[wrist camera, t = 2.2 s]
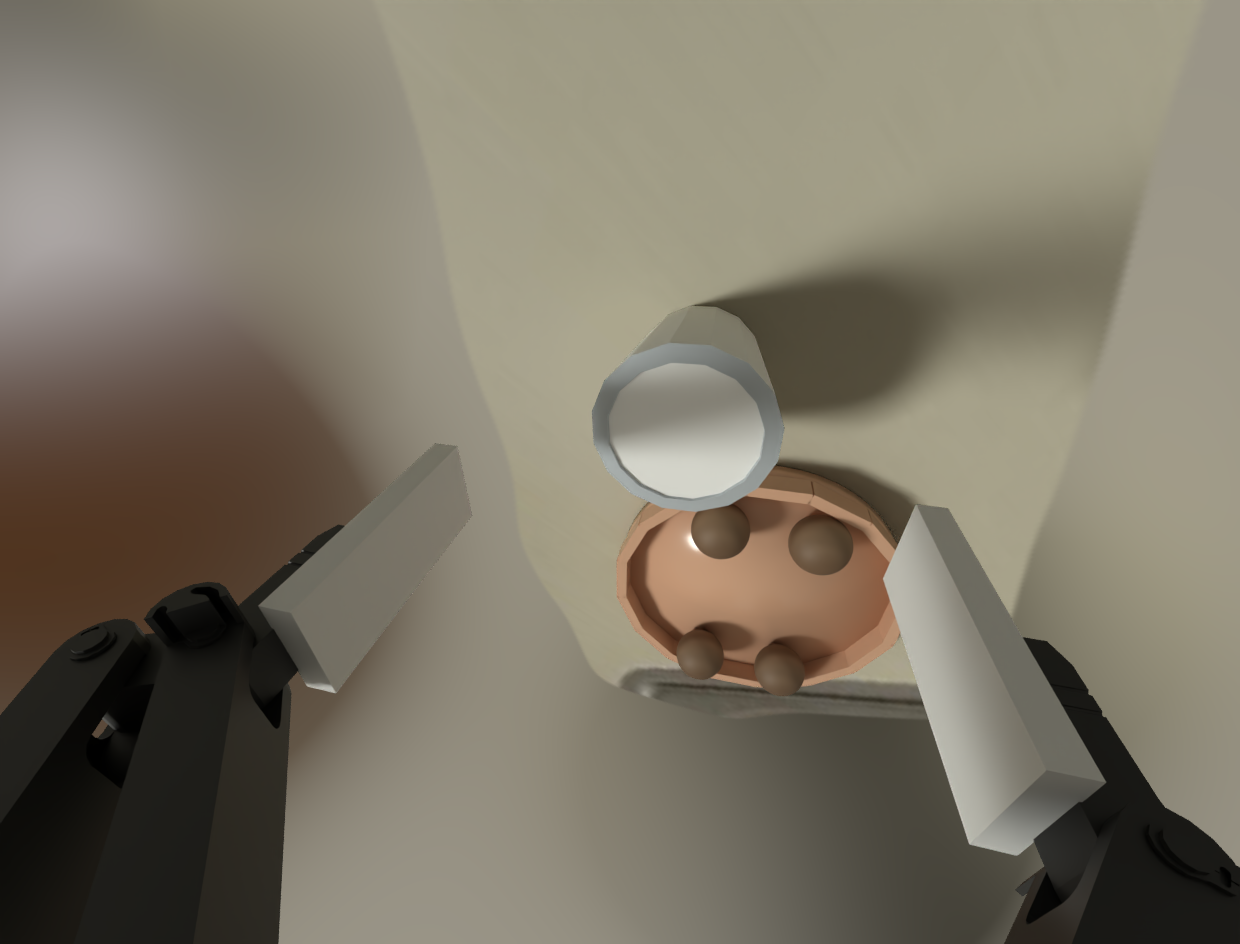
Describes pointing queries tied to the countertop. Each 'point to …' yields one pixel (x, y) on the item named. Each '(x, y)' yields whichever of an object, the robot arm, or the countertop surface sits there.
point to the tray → (763, 583)
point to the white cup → (690, 413)
